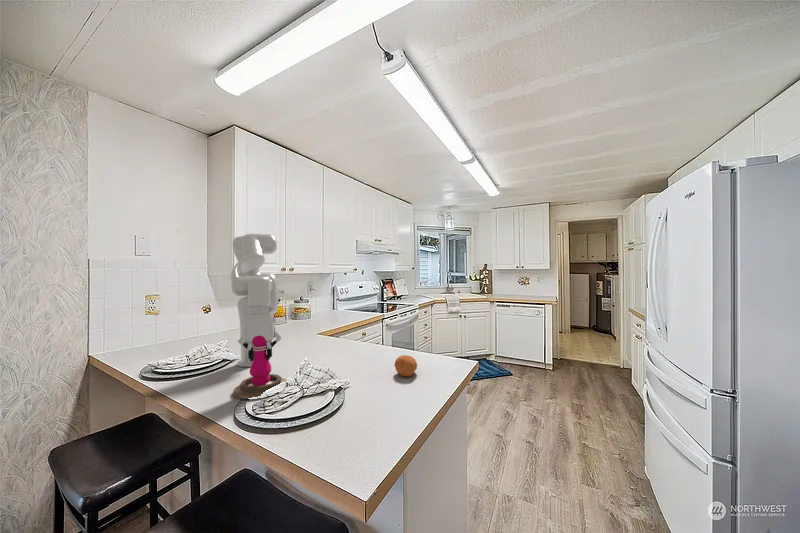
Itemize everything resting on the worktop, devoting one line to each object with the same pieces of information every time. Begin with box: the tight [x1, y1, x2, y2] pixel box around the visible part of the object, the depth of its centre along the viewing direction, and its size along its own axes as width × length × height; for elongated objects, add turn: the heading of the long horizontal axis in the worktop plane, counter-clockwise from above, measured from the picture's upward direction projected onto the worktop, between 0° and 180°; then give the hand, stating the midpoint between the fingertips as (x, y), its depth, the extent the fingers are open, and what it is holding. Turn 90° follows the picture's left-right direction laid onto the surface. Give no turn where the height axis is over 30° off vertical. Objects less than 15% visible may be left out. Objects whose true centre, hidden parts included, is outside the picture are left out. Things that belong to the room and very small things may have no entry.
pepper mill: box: [249, 336, 272, 385], centre depth 111 cm, size 7×7×20 cm
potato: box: [394, 354, 418, 377], centre depth 123 cm, size 9×11×8 cm
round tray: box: [232, 373, 287, 401], centre depth 110 cm, size 18×18×3 cm
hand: (260, 359), depth 111 cm, fingers closed on pepper mill, 5 cm apart
